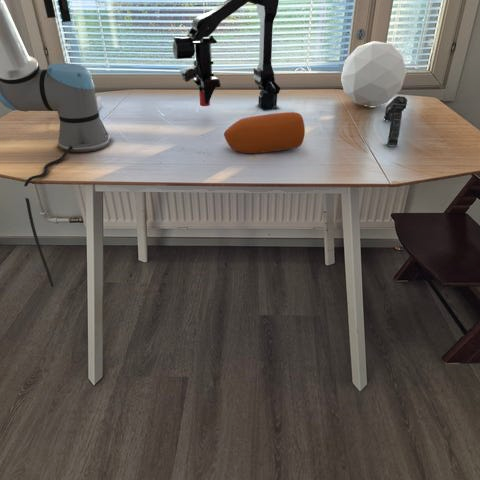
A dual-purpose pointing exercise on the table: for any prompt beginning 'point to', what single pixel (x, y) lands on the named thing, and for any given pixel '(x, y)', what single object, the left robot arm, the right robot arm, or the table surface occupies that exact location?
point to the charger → (98, 101)
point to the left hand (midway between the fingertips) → (59, 19)
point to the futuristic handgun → (395, 118)
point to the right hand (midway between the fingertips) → (205, 101)
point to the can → (202, 100)
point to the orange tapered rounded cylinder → (266, 133)
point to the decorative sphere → (373, 74)
